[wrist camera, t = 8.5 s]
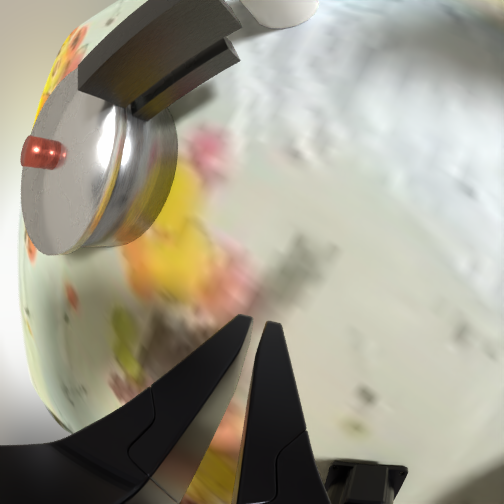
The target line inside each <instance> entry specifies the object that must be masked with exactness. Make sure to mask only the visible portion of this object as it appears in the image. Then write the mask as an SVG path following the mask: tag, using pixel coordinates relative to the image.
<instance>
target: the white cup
mask: <svg viewBox="0 0 504 504" xmlns="http://www.w3.org/2000/svg"><path fill="white" fill-rule="evenodd" d="M240 1H241V2H242V4H243V5H244V6H245V7H246V8H247V9H248V10H249V12H250V13H251V14H252V15H253V16H254V17H255V19H256V20H257V21H258V22H259V23H260V24H261V25H263V26H266V27H268V28H278V29H283V28H288V27H293V26H297V25H299V24H301V23H303V22H305V21H307V20H309V19H310V18H311V17H312V16H313V15H314V14H315V13H316V11H317V9H318V6H319V1H318V0H240Z"/></svg>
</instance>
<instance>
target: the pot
mask: <svg viewBox="0 0 504 504" xmlns="http://www.w3.org/2000/svg"><path fill="white" fill-rule="evenodd" d="M239 61H240V59H239V57H238V55H237V53H236V51H235V49H234V47H233V45H232V43H231V42H230V41H229V40H228V39H227V38H226V36H225V37H224V38H222V39H220V40H219V41H217V42H215V43H214V44H212V45H210V46H209V47H207V48H206V49H204V50H202V51H201V52H199V53H198V54H196V55H195V56H193V57H192V58H190V59H189V60H187V61H186V62H184V63H183V64H181V65H180V66H178V67H177V68H176V69H174V70H173V71H171V72H170V73H169V74H167V75H166V76H165V77H163V78H162V79H161V80H159V81H158V82H157V83H155V84H154V85H153V86H151V87H150V88H149V89H148V90H146V91H145V92H144V93H143V94H141V95H140V96H139V97H138V98H137V99H135V100H134V101H133V102H132V103H131V104H129V105H128V106H127V128H126V138H125V144H124V150H123V155H122V159H121V164H120V168H119V171H118V175H117V178H116V182H115V185H114V188H113V191H112V194H111V196H110V199H109V201H108V204H107V206H106V209H105V211H104V213H103V215H102V217H101V219H100V221H99V223H98V225H97V226H96V228H95V229H94V231H93V233H92V234H91V236H90V237H89V238H88V239H87V240H86V242H85V243H84V244H83V245H82V246H81V247H97V246H119V245H124V244H128V243H130V242H132V241H134V240H135V239H137V238H138V237H140V236H141V235H142V234H143V233H144V232H145V231H146V230H147V229H148V228H149V227H150V226H151V225H152V223H153V222H154V221H155V219H156V218H157V216H158V215H159V213H160V211H161V210H162V208H163V206H164V204H165V202H166V199H167V197H168V195H169V192H170V189H171V186H172V183H173V179H174V175H175V170H176V164H177V154H178V142H177V133H176V128H175V124H174V121H173V118H172V116H171V114H170V112H169V110H168V109H167V108H166V107H168V106H169V105H171V104H172V103H174V102H175V101H176V100H178V99H179V98H181V97H182V96H184V95H185V94H187V93H188V92H190V91H191V90H193V89H194V88H196V87H197V86H199V85H201V84H202V83H204V82H205V81H207V80H208V79H210V78H212V77H213V76H215V75H217V74H218V73H220V72H222V71H223V70H225V69H227V68H229V67H230V66H232V65H234V64H236V63H237V62H239Z"/></svg>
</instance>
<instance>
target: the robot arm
mask: <svg viewBox="0 0 504 504" xmlns="http://www.w3.org/2000/svg"><path fill="white" fill-rule="evenodd" d="M252 326H253V318H252V317H251V316H247V315H243V314H238V315H237V316H236V317H234V318H233V319H232V320H231V321H230V322H228V323H227V324H226V325H225V326H224V327H222V328H221V329H220V330H219V331H218V332H216V333H215V334H214V335H213V336H212V337H210V338H209V339H208V340H207V341H206V342H204V343H203V344H202V345H201V346H199V347H198V348H197V349H196V350H195V351H193V352H192V353H191V354H190V355H188V356H187V357H186V358H185V359H183V360H182V361H181V362H180V363H178V364H177V365H176V366H175V367H173V368H172V369H171V370H170V371H168V372H167V373H166V374H165V375H163V376H162V377H161V378H160V379H158V380H157V381H156V382H154V383H153V384H152V385H151V387H148V388H146V389H145V390H144V391H143V392H141V393H140V394H139V395H137V396H136V397H135V398H133V399H132V400H130V401H129V402H128V403H126V404H125V405H123V406H122V407H120V408H119V409H117V410H115V411H114V412H112V413H110V414H109V415H107V416H105V417H103V418H102V419H100V420H98V421H96V422H94V423H92V424H91V425H89V426H87V427H85V428H83V429H81V430H79V431H78V432H76V433H74V434H72V435H70V436H68V437H66V438H63V439H61V440H58V441H54V442H50V443H43V444H29V445H0V504H179V503H180V502H181V500H182V498H183V496H184V494H185V492H186V490H187V488H188V486H189V484H190V482H191V481H192V479H193V477H194V475H195V473H196V471H197V469H198V467H199V465H200V463H201V461H202V459H203V457H204V455H205V453H206V451H207V449H208V447H209V445H210V442H211V440H212V438H213V436H214V434H215V432H216V430H217V428H218V426H219V424H220V422H221V420H222V418H223V415H224V413H225V411H226V409H227V407H228V405H229V403H230V400H231V398H232V396H233V394H234V391H235V389H236V386H237V383H238V380H239V377H240V374H241V370H242V367H243V364H244V360H245V357H246V353H247V350H248V347H249V343H250V339H251V333H252ZM335 466H337V467H335ZM400 472H402V473H400ZM407 474H408V468H407V467H399V466H378V465H365V464H355V463H346V462H338V461H335V462H332V463H331V465H330V468H329V472H328V476H327V479H326V483H325V486H324V485H323V482H322V479H321V477H320V474H319V471H318V468H317V465H316V462H315V459H314V455H313V451H312V448H311V444H310V440H309V435H308V431H306V423H305V419H304V415H303V411H302V406H301V402H300V398H299V394H298V390H297V385H296V381H295V377H294V373H293V369H292V365H291V361H290V356H289V352H288V348H287V344H286V340H285V336H284V332H283V328H282V325H281V324H280V323H277V322H273V321H267V322H266V324H265V327H264V330H263V333H262V336H261V339H260V342H259V345H258V348H257V352H256V356H255V361H254V367H253V372H252V378H251V383H250V389H249V394H248V400H247V407H246V413H245V420H244V427H243V434H242V440H241V447H240V453H239V460H238V466H237V472H236V479H235V485H234V491H233V497H232V503H231V504H393V501H394V499H395V497H396V496H397V494H398V492H399V490H400V488H401V486H402V484H403V482H404V480H405V478H406V476H407Z"/></svg>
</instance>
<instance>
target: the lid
mask: <svg viewBox="0 0 504 504" xmlns="http://www.w3.org/2000/svg"><path fill="white" fill-rule="evenodd" d="M240 28H242V26H241V24H240V22H239V21H238V19H237V17H236V16H235V14H234V12H233V11H232V9H231V8H230V6H229V5H228V4H227V3H226V2H225V1H224V0H148V1H147V2H146V3H144V4H143V5H142V6H140V7H139V8H138V9H137V10H135V11H134V12H133V13H132V14H131V15H129V16H128V17H127V18H126V19H125V20H124V21H122V22H121V23H120V24H119V25H118V26H117V27H116V28H115V29H114V30H112V31H111V32H110V33H109V34H108V35H107V36H106V37H105V38H104V39H103V40H102V41H101V42H100V43H99V44H98V45H97V46H96V47H95V48H94V49H93V50H92V51H91V52H90V53H89V54H88V55H87V56H86V57H85V58H84V59H83V61H82V62H81V63H80V64H79V65H78V68H77V69H75V70H74V71H72V72H71V73H70V74H68V75H67V76H66V77H65V78H64V79H63V80H62V81H61V82H60V83H59V84H58V85H57V87H56V88H55V89H54V90H53V92H52V93H51V95H50V96H49V98H48V99H47V101H46V102H45V104H44V106H43V108H42V110H41V111H40V113H39V115H38V118H37V120H36V122H35V125H34V127H33V130H32V132H31V135H30V136H28V137H27V139H26V140H25V142H24V145H23V148H22V152H21V165H22V166H23V170H22V180H21V203H22V212H23V218H24V223H25V227H26V229H27V232H28V235H29V237H30V239H31V241H32V243H33V244H34V246H35V247H36V248H37V249H38V250H39V251H40V252H42V253H43V254H46V255H64V254H69V253H72V252H74V251H75V250H77V249H78V248H79V247H81V246H82V245H83V244H84V243H85V242H86V240H87V239H88V238H89V237H90V236H91V234H92V233H93V231H94V229H95V228H96V226H97V225H98V223H99V221H100V219H101V217H102V215H103V213H104V211H105V209H106V206H107V204H108V201H109V199H110V196H111V194H112V191H113V188H114V185H115V182H116V178H117V175H118V171H119V168H120V164H121V159H122V155H123V150H124V144H125V138H126V128H127V106H128V105H129V104H131V103H132V102H133V101H134V100H135V99H137V98H138V97H139V96H140V95H141V94H143V93H144V92H145V91H146V90H148V89H149V88H150V87H151V86H153V85H154V84H155V83H157V82H158V81H159V80H161V79H162V78H163V77H165V76H166V75H167V74H169V73H170V72H171V71H173V70H174V69H176V68H177V67H178V66H180V65H181V64H183V63H184V62H186V61H187V60H189V59H190V58H192V57H193V56H195V55H196V54H198V53H199V52H201V51H202V50H204V49H206V48H207V47H209V46H210V45H212V44H214V43H215V42H217V41H219V40H220V39H222V38H224V37H225V36H227V35H229V34H231V33H233V32H234V31H236V30H238V29H240Z"/></svg>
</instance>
